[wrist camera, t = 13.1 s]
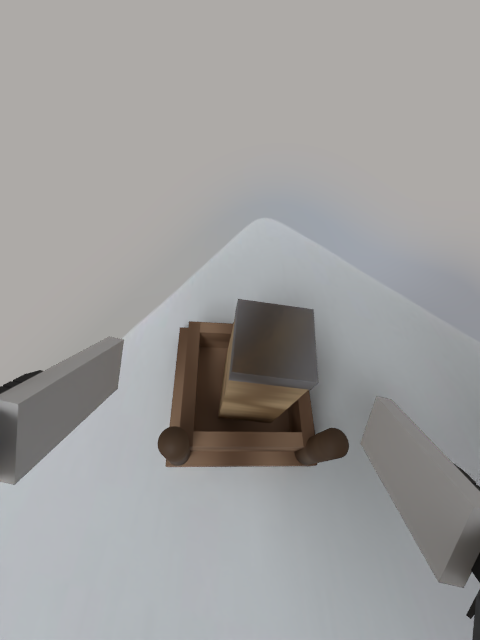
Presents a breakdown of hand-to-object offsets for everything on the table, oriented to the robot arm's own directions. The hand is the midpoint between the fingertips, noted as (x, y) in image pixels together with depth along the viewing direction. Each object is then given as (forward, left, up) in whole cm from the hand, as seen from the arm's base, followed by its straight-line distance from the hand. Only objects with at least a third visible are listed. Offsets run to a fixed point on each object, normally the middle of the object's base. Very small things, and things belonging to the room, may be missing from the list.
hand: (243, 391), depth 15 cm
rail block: (-2, -3, -11) cm, 11 cm away
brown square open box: (-1, -3, -12) cm, 12 cm away
